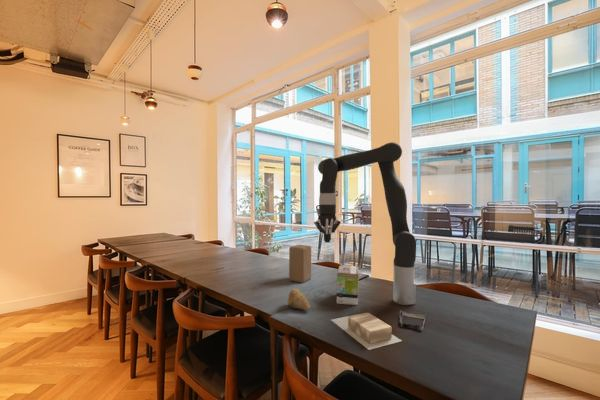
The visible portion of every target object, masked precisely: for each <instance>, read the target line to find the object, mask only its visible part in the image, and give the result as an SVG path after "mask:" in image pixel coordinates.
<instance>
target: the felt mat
mask: <svg viewBox="0 0 600 400" xmlns="http://www.w3.org/2000/svg"><path fill="white" fill-rule="evenodd" d="M358 314H359V313H358ZM358 314H356V315H358ZM353 315H354V314H353ZM353 315H351V316H353ZM330 321H331V322H333V324H335V325H337V326H338V327H339V328H340V329H342V330H343V331H344V332H345V333H347V334H348V335H349V336H350V337H352V338H353V339H354V340H355V341H357V342H358V343H360V344H361V345H362V346H363V347H365V349H367V350H369V351H370V350H373V349H377V348H381V347H384V346H389V345H393V344H396V343H400V342H403V340H402V339H400V338H398V337H397V336H395V335H394V334H392V338H391V339H387V340H383V341H379V342H375V343H371V344H370V343H369V342H367V341H366V340H365V339H363V338H362V337H361V336H359V335H358V334H357V333H355V332H354V331H353V330H351V329H350V328H349V327H348V315H347V316H343V317H337V318H332V319H330Z"/></svg>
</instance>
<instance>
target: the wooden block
mask: <svg viewBox="0 0 600 400" xmlns="http://www.w3.org/2000/svg"><path fill="white" fill-rule="evenodd" d="M288 253H289V255H288V257H289V260H288V261H289V263H288V267H289V268H288V279H289V281H290V282H297V283H301V284H303V283H305V282H308V281H309V280H311V279H312V246H310V245H305V244H296V245H291V246H290V247H289V251H288Z"/></svg>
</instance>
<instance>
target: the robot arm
mask: <svg viewBox="0 0 600 400" xmlns="http://www.w3.org/2000/svg"><path fill="white" fill-rule="evenodd" d="M402 155H403V150H402V147H401V145H400V144H399V143H396V142H387V143H385V144H383V145H381V146H379V147H376V148H372V149H369V150H364V151H359V152H353V153H348V154H345V155H340V156H338V157H334V158H332V157H329V158H328V157H327V158H325V159H323V160H321V161H320V162H319V163H318V166H317V169H318V172H319V174H321V175H322V179H321V180H320V182H319V198H318V218H317V220H316V221H313V224H314V225H315V227H316V228H317V230H318V231H319V233H321V234H323V241H324V243H330V242H331V240H332V233H335V232H336V230H337V229H338V227H339V226H340V224H341V221H340V220H338V219H337V217H336V213H337V197H336V195H337V194H336V183H337V177H338V173H339V172H346V171H351V170H354V169H359V168H362V167H364V166H369V165H372V164H375V163H377V164H378V168H379V171H380V175H381V179H382V180H381V181H382V185H383V189H384V190H383V191H384V197H385V203H386V206H387V211H388V215H389V218H390V223H391V231H392V232H391V233H392V242H393V245H394V248H395V249H394V258H393V278H392V279H393V281H392V282H393V285H392V287H393V288H392V289H393V290H392V291H393V292H392V293H393V294H392V300H393V301H392V302H394V303H395V304H398V305H403V306H410V305H411V306H412V305H416V289H417V288H416V286H417V285H416V283H415V263H416V259H417V241H416V238H415V236H414V234H412V233H411V232H410V228H409V224H408V219H407V218H408V217H407V216H408V215H407V211H408V201H407V199H408V198H407V195H406V189H405V187H404V185H403V184H402V182H401V180H400V179H399V177H398V175H397V173H396V170H395V165H394V164H395V163H394V162H397V161H399V159H400V158H401V157H402Z"/></svg>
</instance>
